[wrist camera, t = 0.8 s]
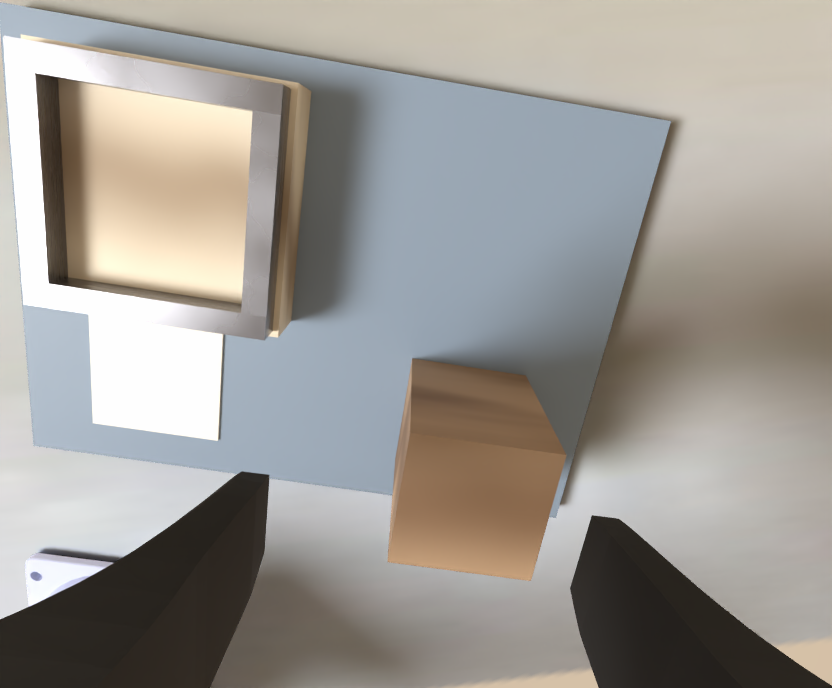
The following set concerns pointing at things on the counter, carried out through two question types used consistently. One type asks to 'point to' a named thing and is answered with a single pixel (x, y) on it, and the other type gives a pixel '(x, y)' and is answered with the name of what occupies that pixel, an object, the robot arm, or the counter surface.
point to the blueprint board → (298, 246)
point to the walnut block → (472, 472)
